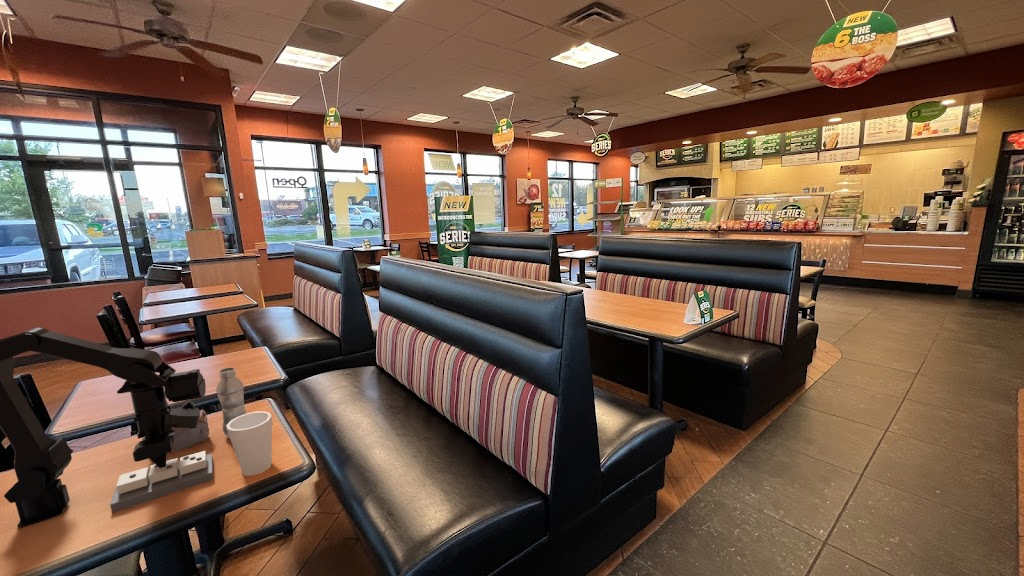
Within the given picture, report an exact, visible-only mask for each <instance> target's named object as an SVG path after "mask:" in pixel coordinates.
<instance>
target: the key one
mask: <svg viewBox="0 0 1024 576" xmlns="http://www.w3.org/2000/svg"><path fill="white" fill-rule="evenodd" d="M149 472H150V468H149V466H148V467H147V466H146V467H143V468H140V469H137V470H132V471H130V472H126V473H122V474H120V475H119V476H118V477H119V478H118V480H117V484H116V486H115V489H116V488H117V492H118V494H121V493H125V492H128V491H131V490H134V489H138V488H141V487H144V486H147V485H148V481H149Z"/></svg>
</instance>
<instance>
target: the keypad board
mask: <svg viewBox="0 0 1024 576" xmlns="http://www.w3.org/2000/svg"><path fill="white" fill-rule="evenodd" d="M206 457H207V467H206V468H202V469H199V470H196V471H193V472H189V473H186V474H183V475H181V474H180V469H179V470H178V475H177V476H174V477H171V478H167V479H164V480H161V481H158V482H154V483H151V484H150V481H148V485H147V486H144V487H141V488H138V489H134V490H131V491H128V492H125V493H121V494H118V492H117V488H116V487H115V489H114V492H113V495H112V498H111V501H110V504H109V505H110V509H111V513H112V514H114V513H116V512H119V511H123V510H125V509H128V508H130V507H131V508H132V507H134V506H137V505H140V504H143V503H146V502H149V501H153V500H155V499H158V498H161V497H165V496H168V495H171V494H174V493H178V492H181V491H183V490H186V489H190V488H193V487H196V486H199V485H201V484H202V485H203V484H205V483H209V482H211V481H214V458H213V453H208V454H206ZM179 465H180V462H179Z"/></svg>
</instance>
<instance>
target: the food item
mask: <svg viewBox="0 0 1024 576" xmlns="http://www.w3.org/2000/svg"><path fill="white" fill-rule="evenodd" d="M199 410H200V416H199V420H198V423H197V427H196V428H194V429H189V428H174V427H172V430H175V433H174V436H173V437H174V440H173V443H172V451H171V452H175V451H176V452H180V451H182V450H186V448H188V447H192V446H195V445H198V444H202V443H204V442H205V441H207V440H208V438H209V435H210V428H209V422H208V416H207V414H206V411H205V410H204V409H199ZM173 437H172V438H173Z"/></svg>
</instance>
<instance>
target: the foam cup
mask: <svg viewBox="0 0 1024 576" xmlns="http://www.w3.org/2000/svg"><path fill="white" fill-rule="evenodd" d="M273 423H274V422H273V417H272V414H271V413H270V412H268V411H265V410H263V411H261V410H260V411H252V412H246V414H244V415H241V416H238V417H236V418H235V419H233V420H231V421H230V422H229V423H228V424H227V425H226V426H227V432H228V436H229V437H228V438H229V439H230V442H231V444H232V447H233V451H234V453H235V456H236V459H237V462H238V465H239V467H240V469H241V473H242V475H244V476H247V477H250V476H252V477H253V476H256V475H260V474H262V473H264V472H266V471H267V470H268V469H269V468H271V465H272V460H273V459H272V458H273V457H272V453H273V452H272V450H273V449H272V446H273V445H272V444H273V443H272V441H273V433H272V432H273V425H274V424H273Z"/></svg>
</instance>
